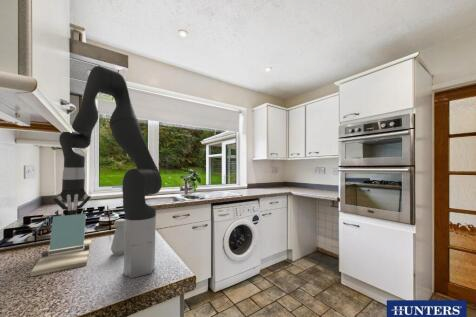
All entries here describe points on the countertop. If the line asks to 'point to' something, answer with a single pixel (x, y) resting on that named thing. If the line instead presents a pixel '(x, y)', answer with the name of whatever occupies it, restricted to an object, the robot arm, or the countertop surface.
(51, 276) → the countertop surface
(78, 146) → the robot arm
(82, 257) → the board
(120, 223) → the salt shaker
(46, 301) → the countertop surface
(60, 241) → the tile
